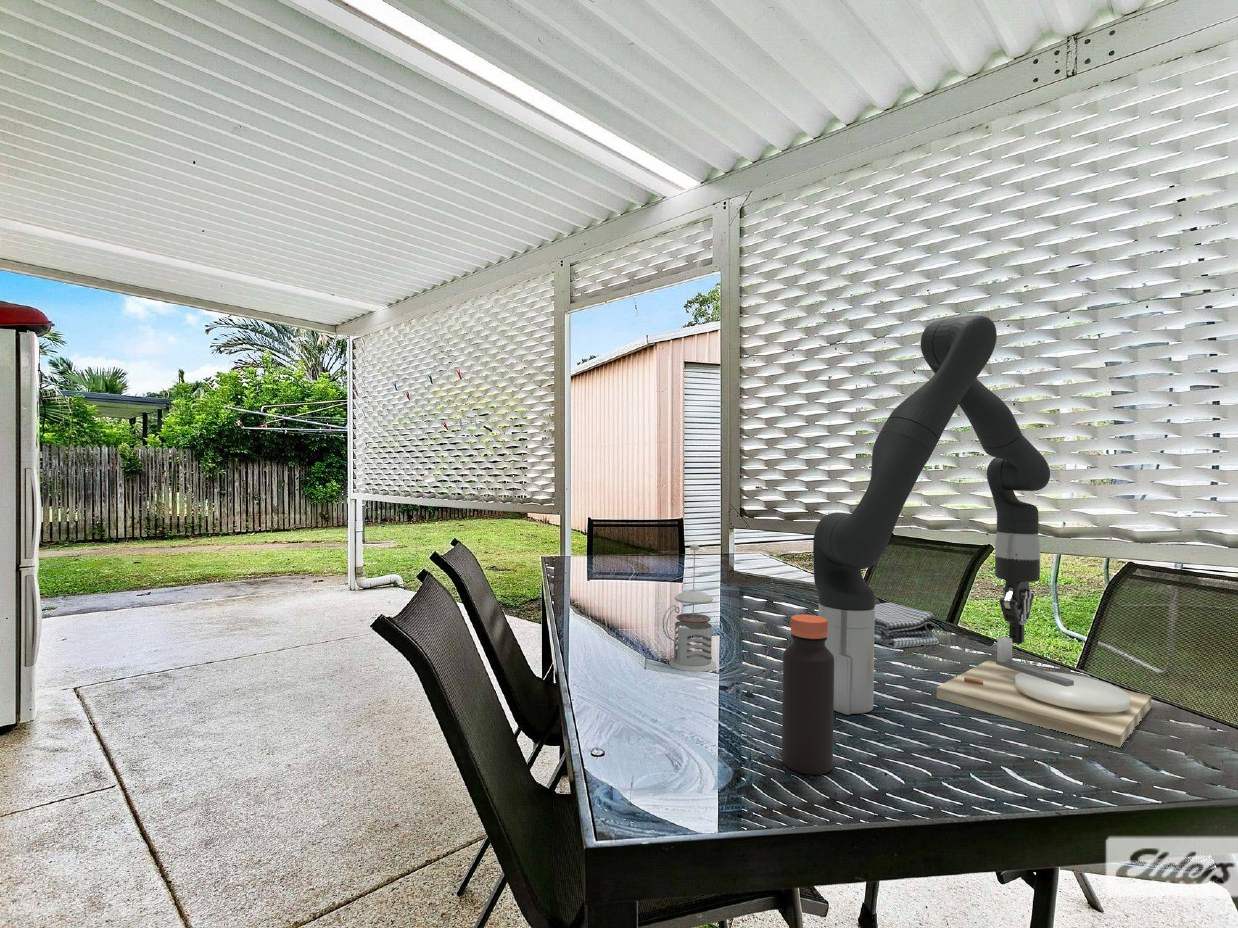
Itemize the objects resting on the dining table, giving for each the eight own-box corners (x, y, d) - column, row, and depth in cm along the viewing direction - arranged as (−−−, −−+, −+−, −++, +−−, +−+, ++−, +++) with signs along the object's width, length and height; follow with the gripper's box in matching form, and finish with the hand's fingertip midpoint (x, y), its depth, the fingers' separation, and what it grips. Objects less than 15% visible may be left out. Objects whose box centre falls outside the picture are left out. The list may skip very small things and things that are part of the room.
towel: (885, 627, 164) (885, 598, 164) (941, 646, 146) (942, 613, 146) (837, 631, 159) (838, 600, 159) (890, 651, 141) (891, 617, 141)
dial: (1118, 720, 95) (1119, 677, 95) (973, 684, 111) (974, 647, 111) (1138, 697, 106) (1138, 658, 106) (1003, 667, 121) (1004, 633, 121)
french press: (725, 668, 125) (727, 546, 126) (674, 674, 121) (676, 547, 121) (701, 655, 134) (703, 540, 135) (653, 660, 130) (655, 542, 131)
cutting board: (1119, 748, 91) (1119, 731, 91) (936, 698, 111) (936, 683, 111) (1151, 707, 108) (1151, 692, 108) (987, 669, 128) (987, 657, 128)
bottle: (772, 763, 85) (774, 617, 85) (797, 748, 89) (799, 610, 90) (817, 781, 80) (820, 627, 80) (841, 764, 84) (843, 619, 85)
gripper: (1028, 560, 115) (1028, 653, 115) (1049, 554, 124) (1048, 640, 124) (984, 556, 121) (983, 644, 121) (1006, 550, 130) (1006, 633, 129)
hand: (1016, 642), depth 122 cm, fingers closed
